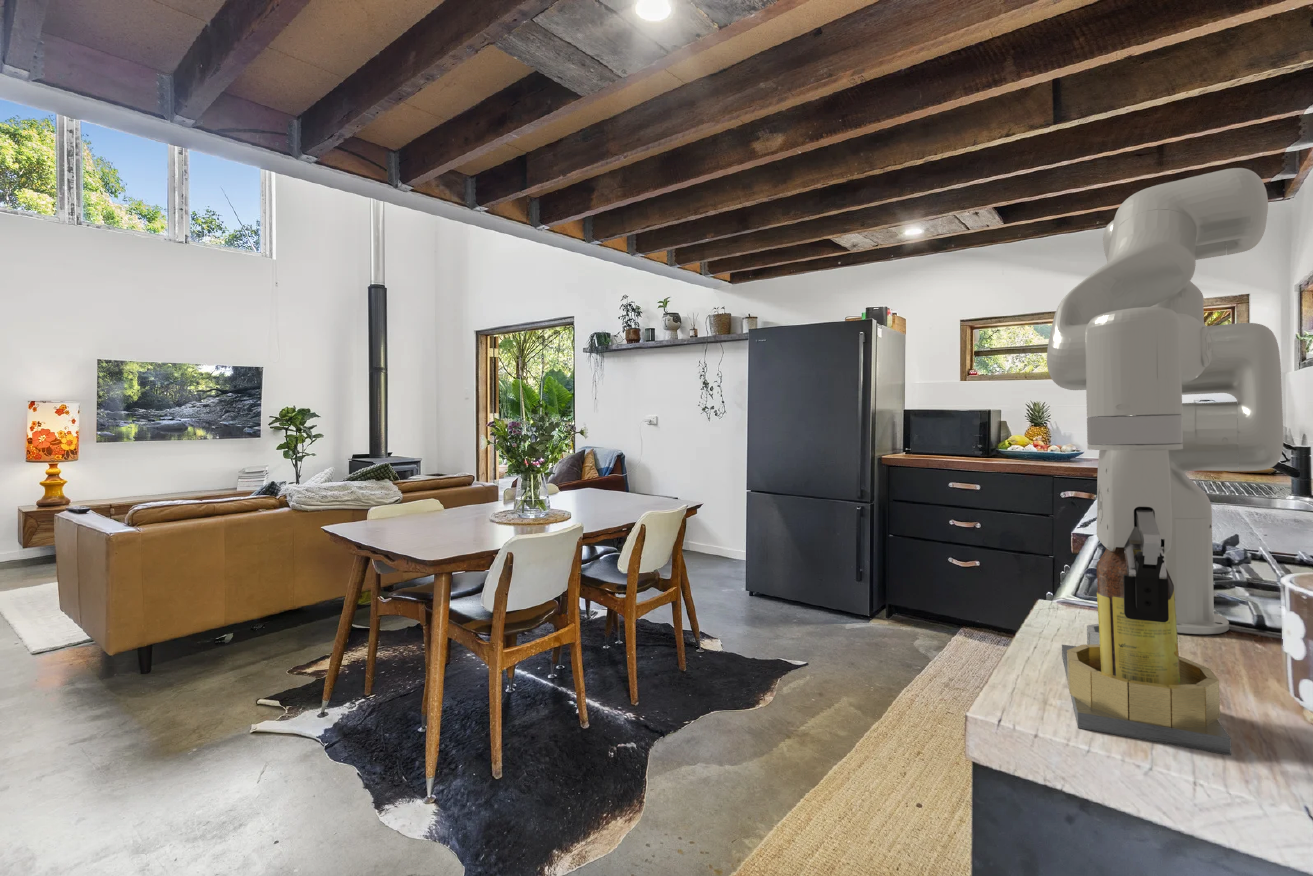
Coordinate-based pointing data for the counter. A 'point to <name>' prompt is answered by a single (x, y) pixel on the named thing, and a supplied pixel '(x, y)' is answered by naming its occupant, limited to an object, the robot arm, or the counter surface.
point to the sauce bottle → (1133, 630)
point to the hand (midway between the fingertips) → (1136, 606)
